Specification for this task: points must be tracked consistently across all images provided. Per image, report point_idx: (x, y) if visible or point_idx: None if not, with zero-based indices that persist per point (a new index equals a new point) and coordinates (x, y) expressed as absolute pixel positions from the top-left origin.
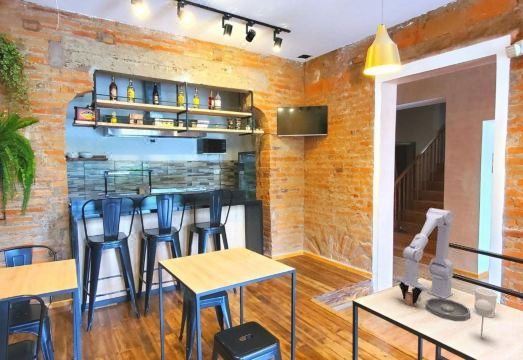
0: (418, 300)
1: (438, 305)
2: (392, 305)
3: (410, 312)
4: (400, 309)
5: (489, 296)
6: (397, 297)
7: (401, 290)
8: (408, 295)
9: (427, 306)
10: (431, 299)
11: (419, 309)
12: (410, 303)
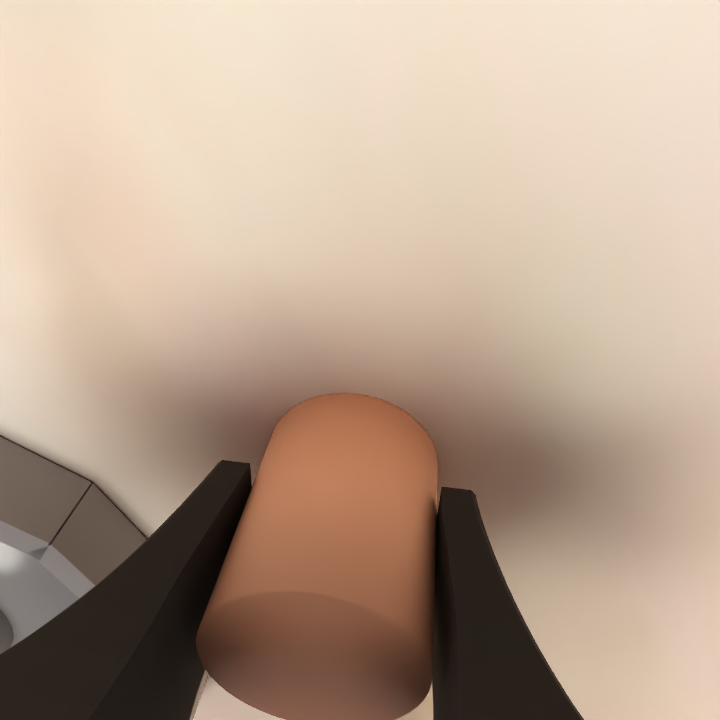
0: None
1: None
2: (588, 74)
3: (83, 102)
4: (313, 32)
5: None
6: (649, 533)
7: (546, 674)
8: (296, 571)
9: (22, 510)
10: None
11: (116, 387)
12: (288, 433)
